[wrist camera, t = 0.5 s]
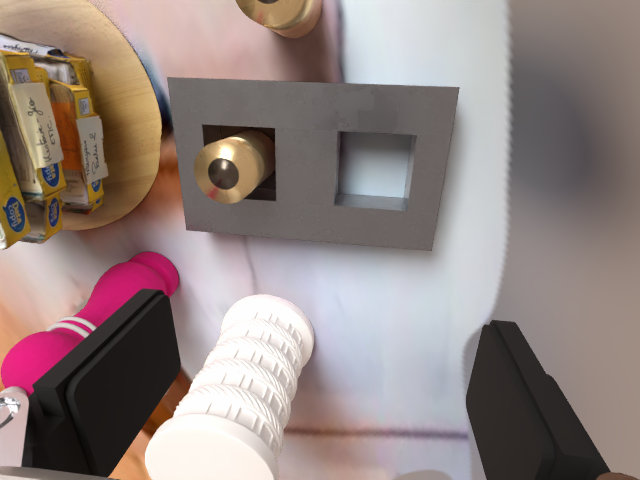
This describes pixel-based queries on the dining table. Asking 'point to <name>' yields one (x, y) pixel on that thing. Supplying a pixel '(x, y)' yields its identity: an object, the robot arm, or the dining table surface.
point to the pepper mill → (85, 319)
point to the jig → (307, 158)
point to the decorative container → (237, 398)
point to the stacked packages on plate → (70, 121)
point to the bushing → (284, 15)
